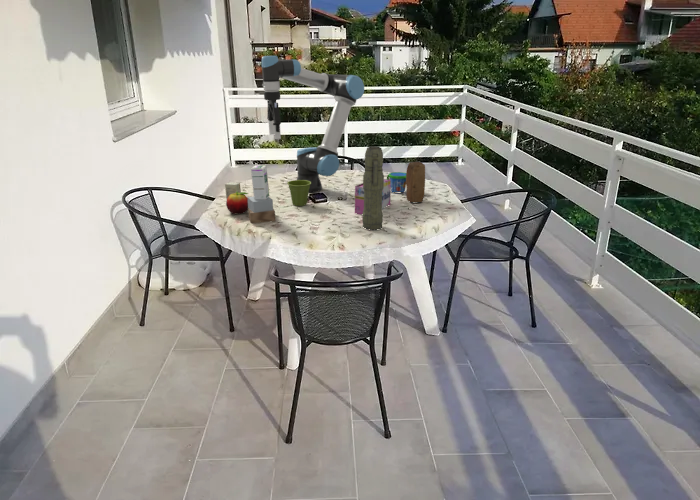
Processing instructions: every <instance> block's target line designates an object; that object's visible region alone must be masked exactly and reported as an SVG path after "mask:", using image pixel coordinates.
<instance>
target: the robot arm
mask: <svg viewBox="0 0 700 500" xmlns="http://www.w3.org/2000/svg"><path fill="white" fill-rule="evenodd" d="M261 71H262V84H261V86H262V87H263V90H264V92H263V97H264V99H263V100H265V101H267V116H266V117H267V121H268V134H269V136H272V135H274V140H281V139H282V137H281V136H282V133H281V124H282V122H281V121H282V120H281V115H280V109H279V103H278V102H277V100H278V101H279V100H280V99H281V92H280V90H281V87H280V86H281V84H280V83H281V82H280V78H281V79H283V80H287V81H291V82H294V83H297V84H301V85H305V86H308V87H312V88H315V89H317V90H318V91H319V92H322V93H325V94H328V95H330V96H332V97H334V100H335V103H334V105H333V108H332V112H331V114H330V117H329V121H328V124H327V127H326V130H325V133H324V136H323V139H322V141H321V144H320V145H318V146H317V147H313V146H312V147H303V148H299V149H298V150H297V151H296V162H297V163H296V164H297V168H296V169H297V177H296V180H307V181H310V182H311V184H310V188H309V193H317V192H320V191H322V190H323V184H322V181H321V178H320V176H322V177H330V176H332V175H335V174H336V173H337V172H338V170H339V167H340V160H339V157H338V156H339V152H338V147H339V144H340V142H341V141H340V140H341V139H342V135H343V133H344V129H345V126H346V124H347V120H348V118H349V115H350V111H351V109H352V107H353V106H355V105H356V103H357V100H360V99H361V98H362V96H363V95H364V93H365V85H364V81H363V80H362V78H361V77H360V76H358V75H353V74H331V73H330V74H329V73H325V72H321V73H319V72H315V71H312V70H309V69H306V68H302V64H301V62H300V61H299V60H298V59H279V58H278V56H277V55H264V56H262V57H261ZM309 193H308V194H309Z"/></svg>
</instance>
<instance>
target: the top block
mask: <svg viewBox="0 0 700 500" xmlns="http://www.w3.org/2000/svg"><path fill="white" fill-rule="evenodd" d="M246 197H247V198H248V208H249V209H250V210H251V211H252V212H254V213H256V212H264V211H272V210H273V209H274V202H273V200H274V199H272V198H271V197H270V196H269V197H268V198H267V199H266V200H255V199H254V195H253V196H246Z"/></svg>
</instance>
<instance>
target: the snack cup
mask: <svg viewBox="0 0 700 500" xmlns="http://www.w3.org/2000/svg"><path fill="white" fill-rule="evenodd" d="M386 179H387V180H389V179H391V191H392V192H391V193H393V192H404V191H405V192H406V189H407V186H406V172H402V171H397V172H394V171H393V172H389V173H388V174H387V176H386ZM405 192H404V193H405Z"/></svg>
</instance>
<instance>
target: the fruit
mask: <svg viewBox="0 0 700 500" xmlns="http://www.w3.org/2000/svg"><path fill="white" fill-rule="evenodd" d="M248 194H249V193H248V192H244V191H241V193H238V192H236V193H234V194H230V195H229V197H228V199H226V203H225V206H226V209H227V210H228V211H229V212H230V213H231V214H232V215H233V214H234V215H242V214H245V213H246V212H248V198H247V197H248V196H247V195H248Z"/></svg>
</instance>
